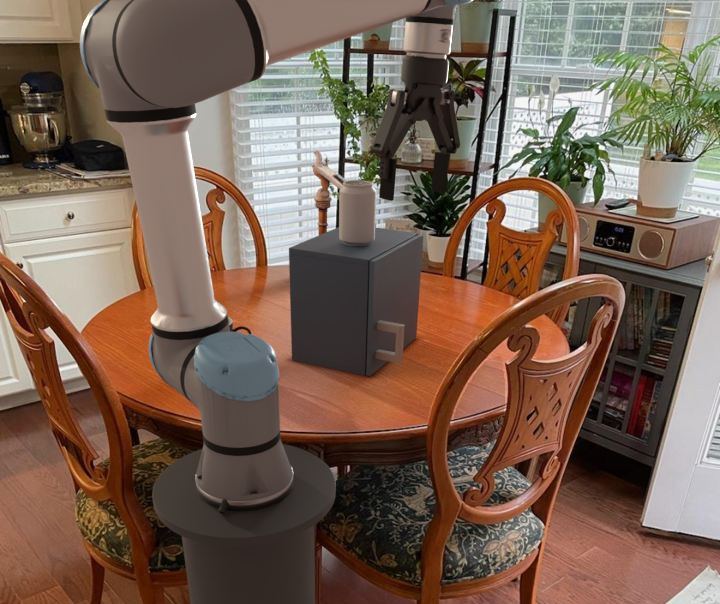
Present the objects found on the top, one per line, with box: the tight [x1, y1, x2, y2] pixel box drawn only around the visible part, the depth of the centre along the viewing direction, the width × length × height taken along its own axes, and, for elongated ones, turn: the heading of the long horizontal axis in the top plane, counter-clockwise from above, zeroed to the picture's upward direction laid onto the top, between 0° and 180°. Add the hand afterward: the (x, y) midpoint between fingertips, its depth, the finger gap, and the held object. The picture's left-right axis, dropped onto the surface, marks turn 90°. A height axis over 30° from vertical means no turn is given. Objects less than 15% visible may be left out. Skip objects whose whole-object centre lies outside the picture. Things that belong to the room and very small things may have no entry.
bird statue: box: [311, 149, 348, 236], centre depth 206 cm, size 17×13×35 cm
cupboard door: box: [365, 233, 424, 377], centre depth 154 cm, size 7×26×24 cm, turn 154°
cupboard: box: [288, 226, 419, 377], centre depth 158 cm, size 18×26×24 cm
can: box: [338, 179, 377, 246], centre depth 147 cm, size 8×8×12 cm
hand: (412, 195), depth 126 cm, fingers open, 13 cm apart
